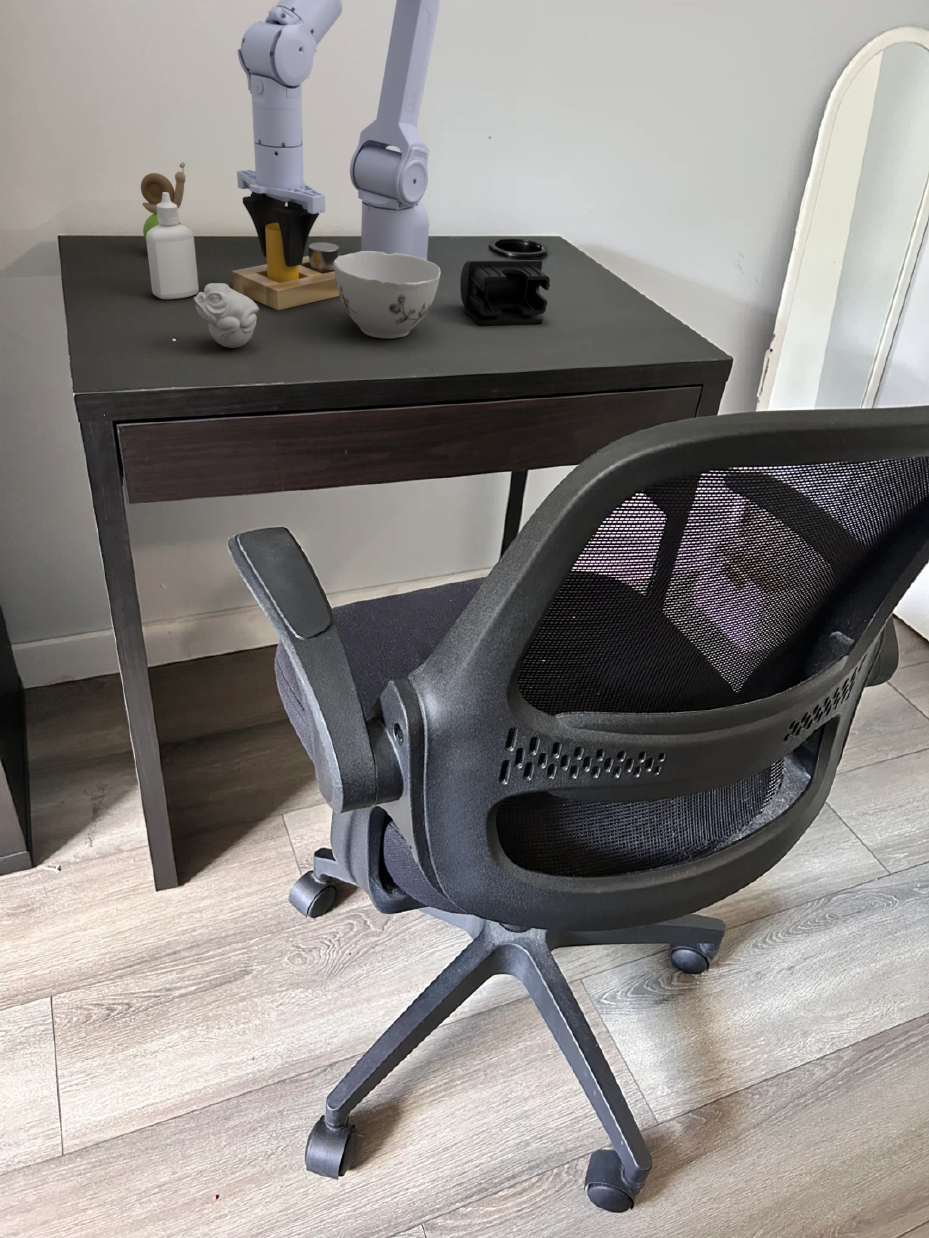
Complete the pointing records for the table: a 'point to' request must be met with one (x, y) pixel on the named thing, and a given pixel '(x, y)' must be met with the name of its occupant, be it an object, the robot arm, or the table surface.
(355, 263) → the teacup
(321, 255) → the steel peg
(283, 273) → the yellow peg
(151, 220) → the snail figurine
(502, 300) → the end cap
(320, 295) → the peg stand
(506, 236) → the table surface
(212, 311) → the frog figurine
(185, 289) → the eye dropper bottle
